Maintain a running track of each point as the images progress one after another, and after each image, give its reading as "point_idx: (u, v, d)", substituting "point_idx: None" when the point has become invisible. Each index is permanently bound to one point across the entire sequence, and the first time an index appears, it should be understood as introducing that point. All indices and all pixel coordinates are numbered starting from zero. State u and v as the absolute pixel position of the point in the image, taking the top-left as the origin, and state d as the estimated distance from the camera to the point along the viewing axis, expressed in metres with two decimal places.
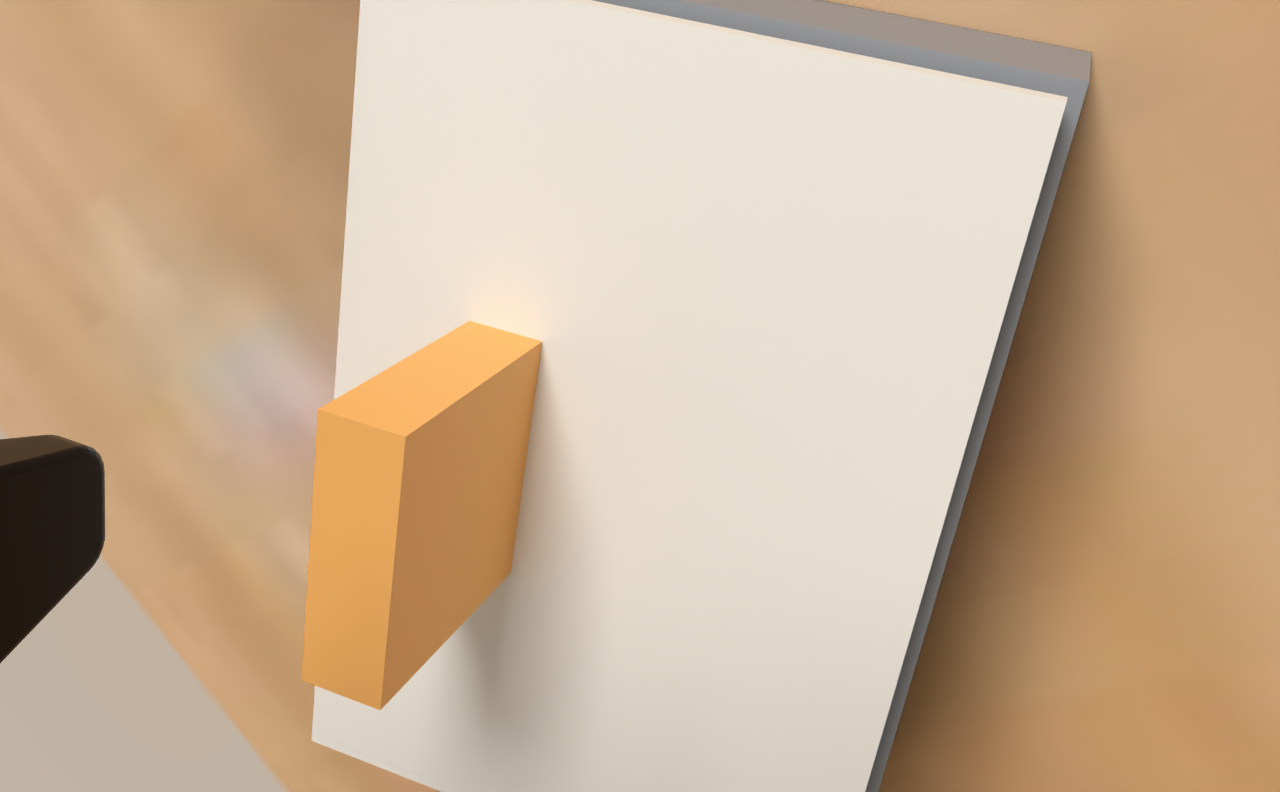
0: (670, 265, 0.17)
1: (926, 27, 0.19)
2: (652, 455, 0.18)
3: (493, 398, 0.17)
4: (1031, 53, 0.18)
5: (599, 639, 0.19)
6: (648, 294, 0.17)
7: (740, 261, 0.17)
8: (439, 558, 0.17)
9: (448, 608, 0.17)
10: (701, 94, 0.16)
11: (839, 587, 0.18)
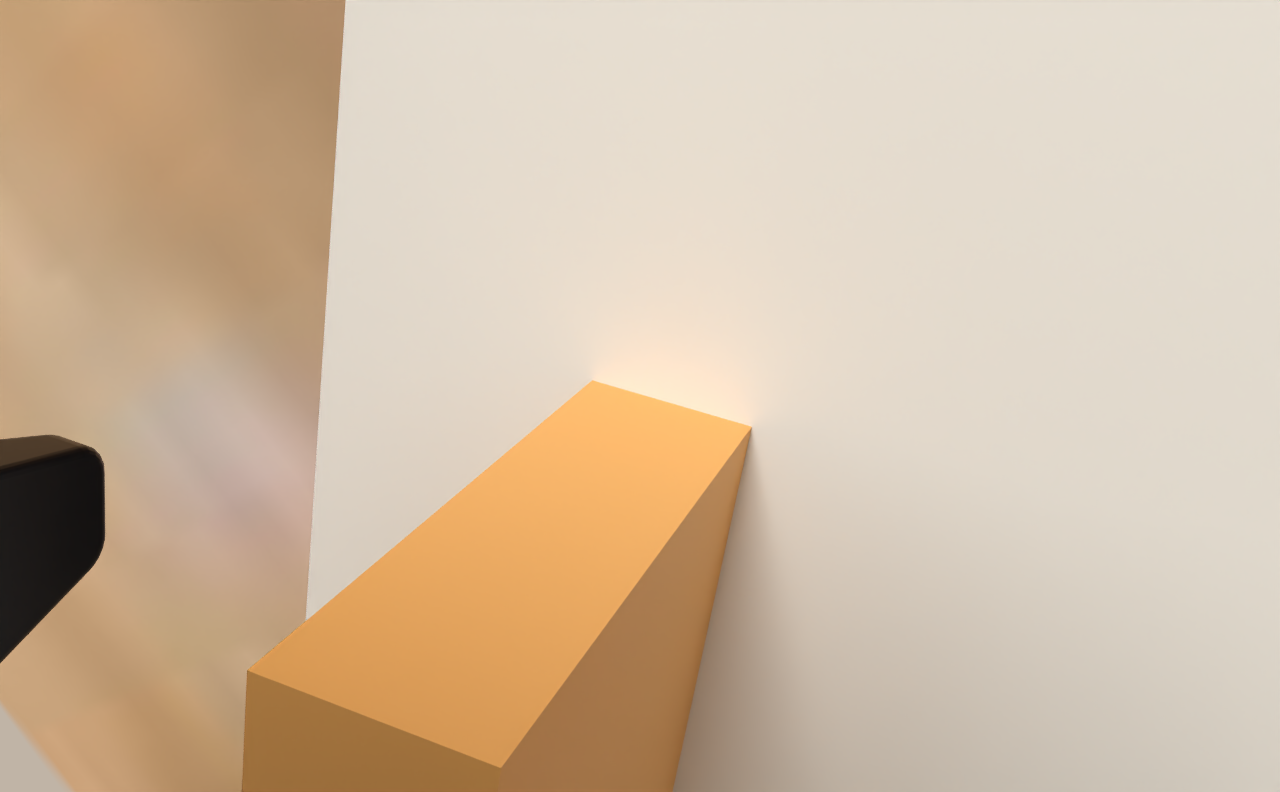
0: (1075, 265, 0.07)
1: None
2: (987, 670, 0.08)
3: (673, 571, 0.07)
4: None
5: None
6: (1012, 330, 0.08)
7: (1261, 256, 0.07)
8: None
9: None
10: None
11: None
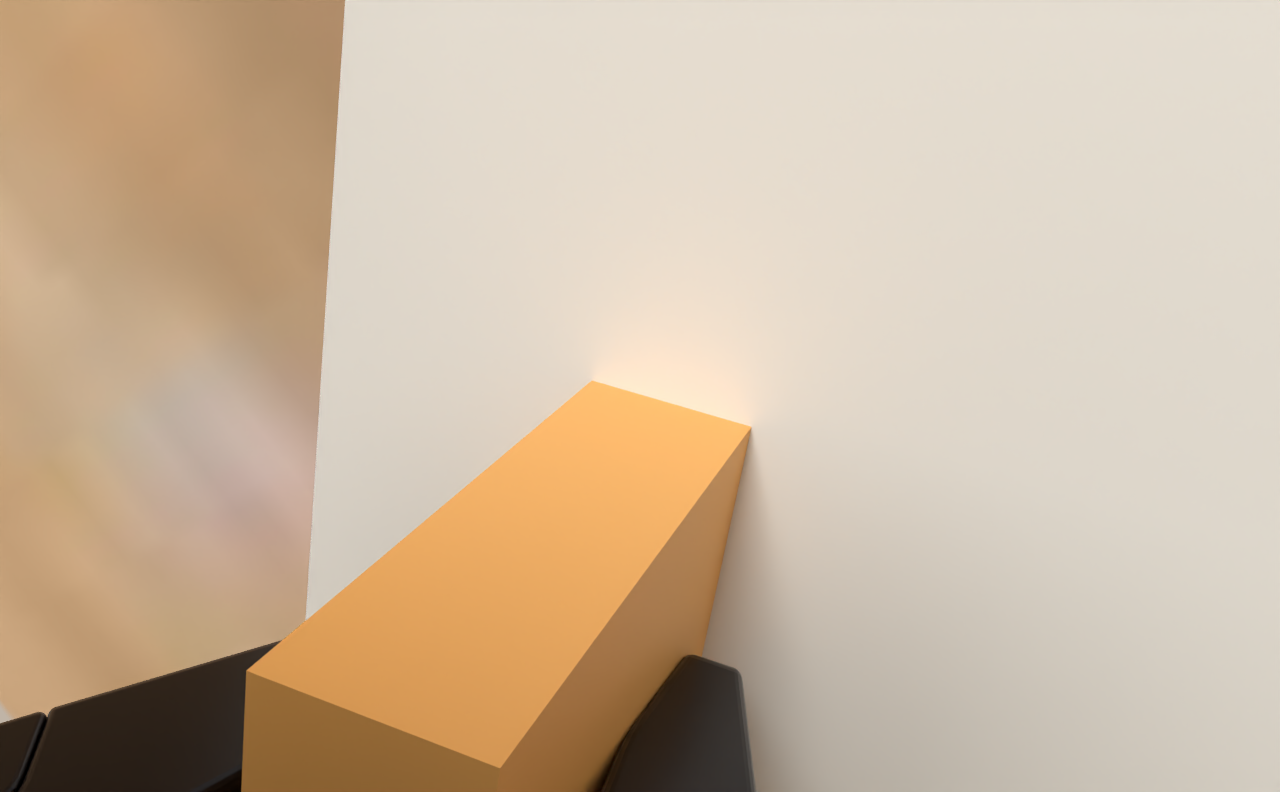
0: (1075, 265, 0.07)
1: None
2: (987, 670, 0.08)
3: (673, 571, 0.07)
4: None
5: None
6: (1012, 330, 0.08)
7: (1260, 256, 0.07)
8: None
9: None
10: None
11: None
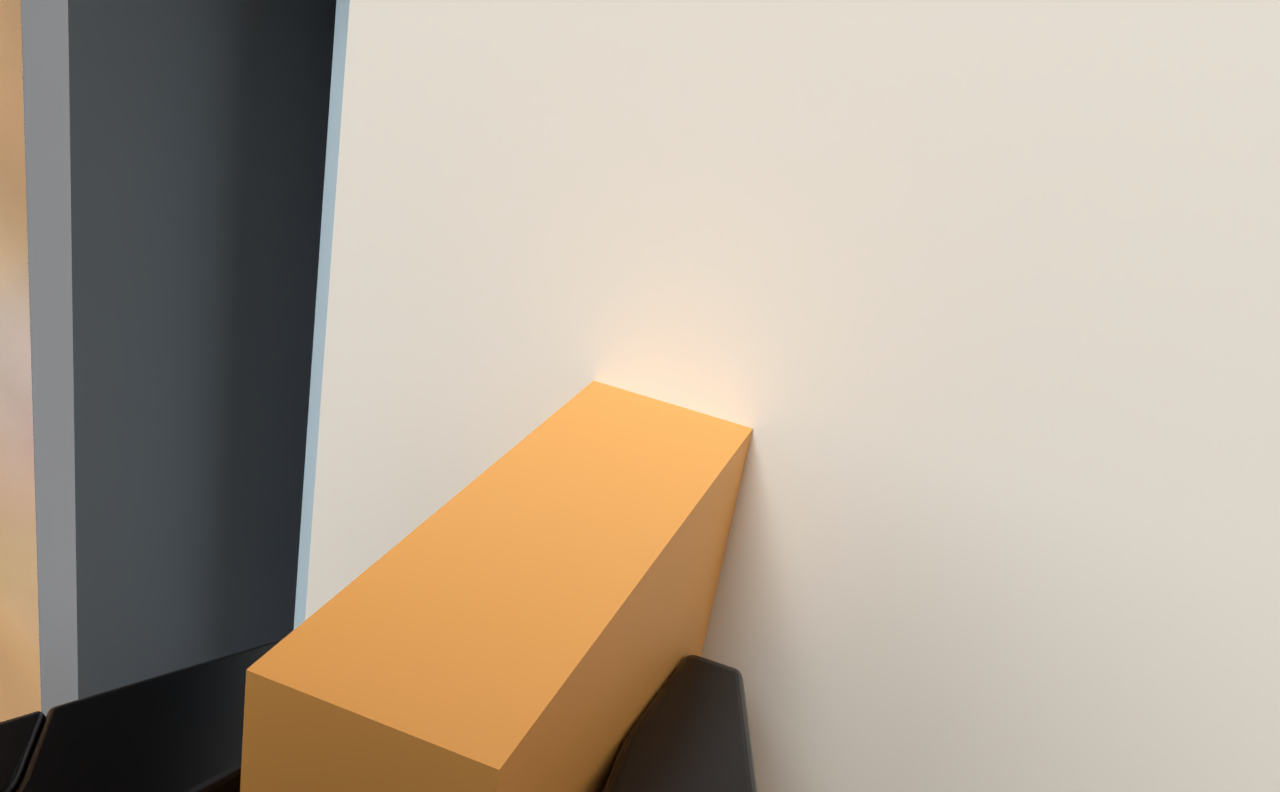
0: (1078, 270, 0.07)
1: None
2: (985, 673, 0.08)
3: (673, 573, 0.07)
4: None
5: None
6: (1015, 335, 0.08)
7: (1264, 263, 0.07)
8: None
9: None
10: None
11: None
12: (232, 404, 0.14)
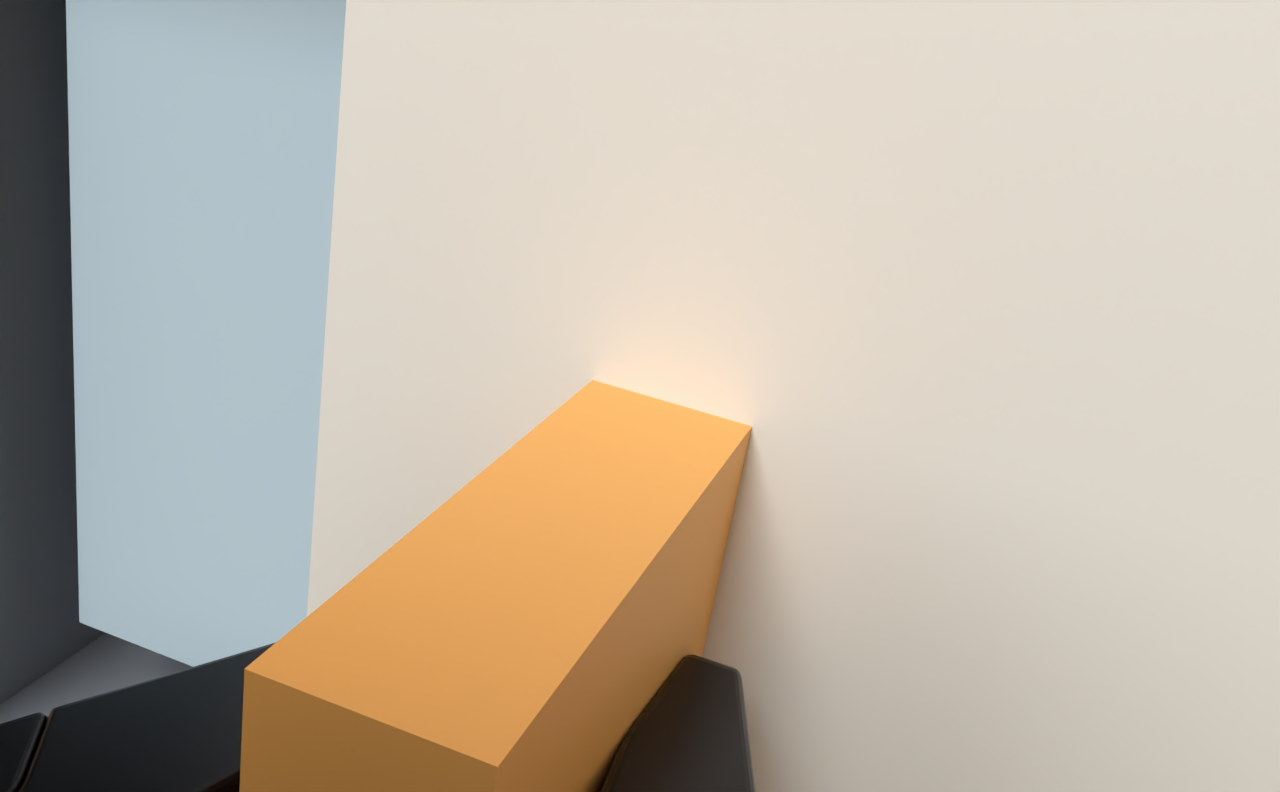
0: (1076, 265, 0.07)
1: None
2: (988, 671, 0.08)
3: (673, 572, 0.07)
4: None
5: None
6: (1015, 330, 0.08)
7: (1262, 256, 0.07)
8: None
9: None
10: None
11: None
12: (6, 334, 0.15)
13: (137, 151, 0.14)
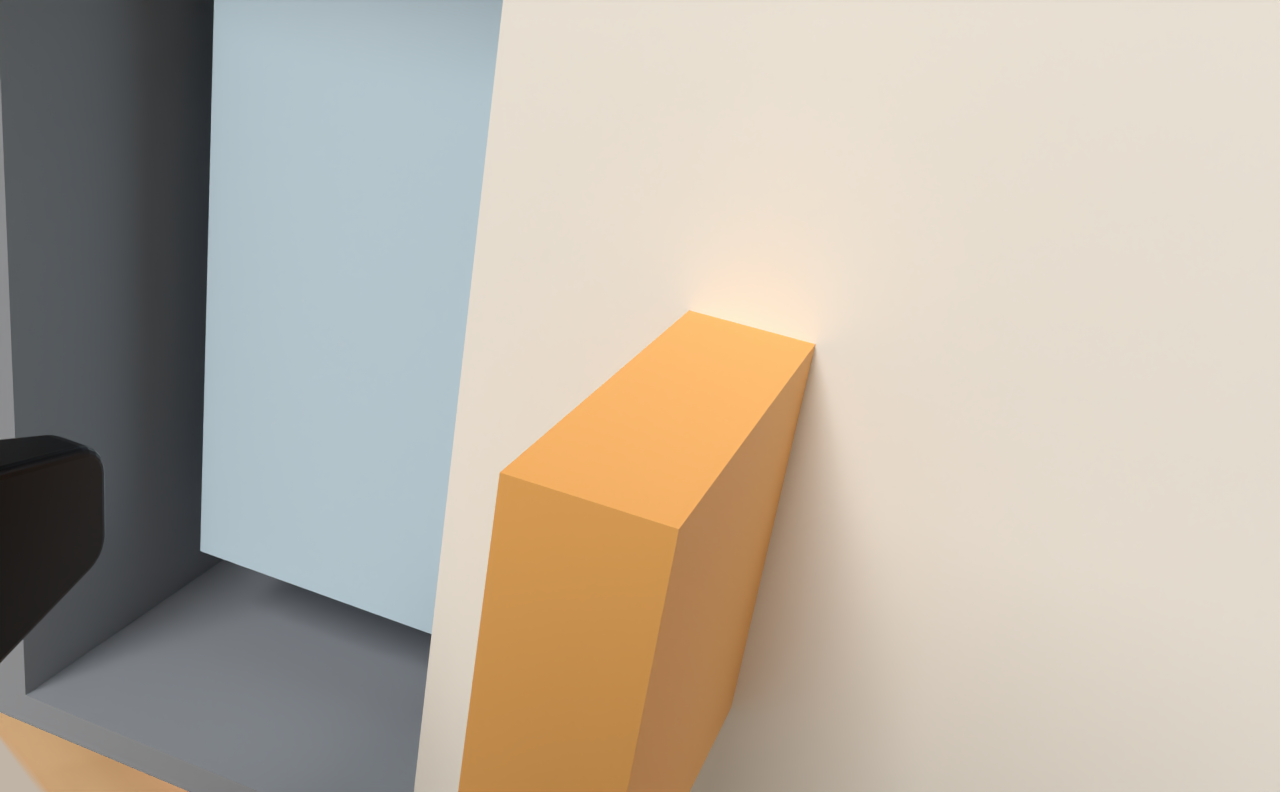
0: (1064, 214, 0.10)
1: None
2: (997, 532, 0.11)
3: (766, 442, 0.10)
4: None
5: None
6: (1018, 264, 0.10)
7: (1201, 205, 0.10)
8: (678, 721, 0.09)
9: None
10: None
11: None
12: (146, 297, 0.18)
13: (271, 139, 0.16)
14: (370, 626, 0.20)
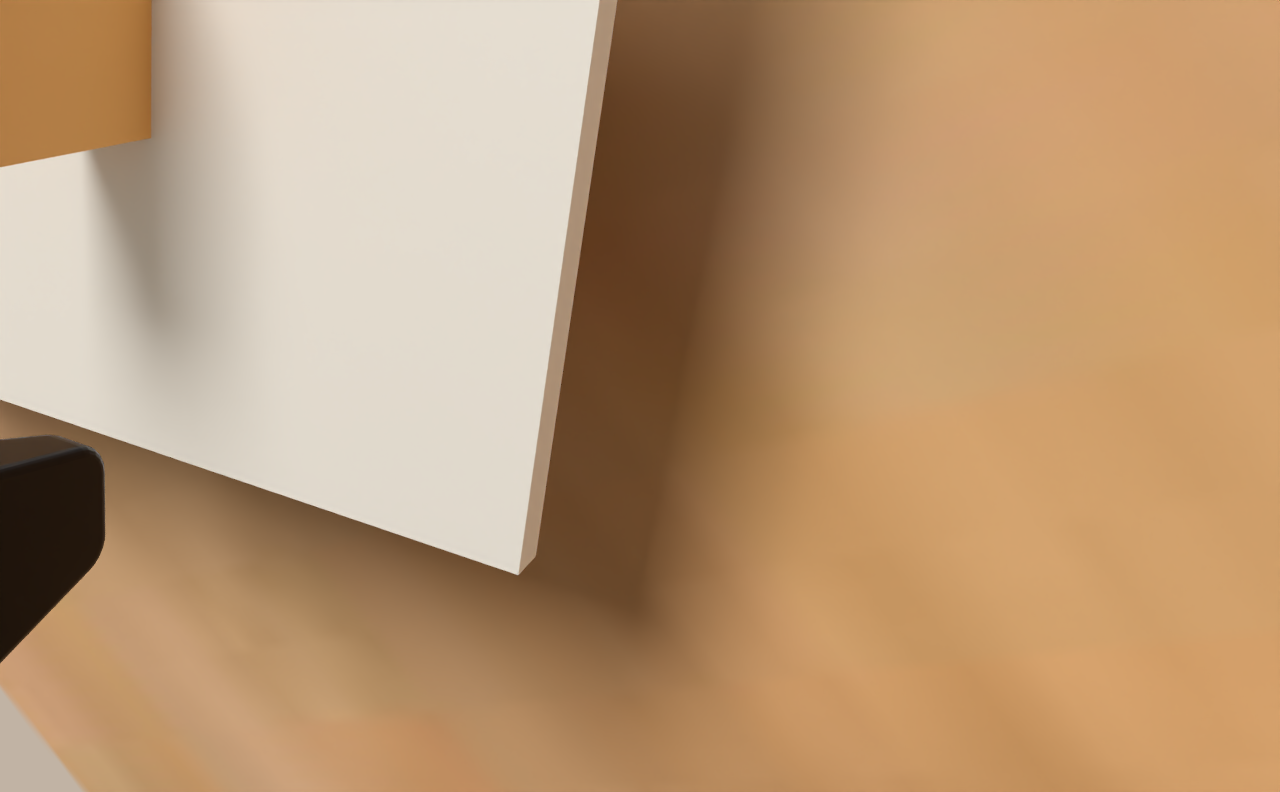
0: None
1: None
2: None
3: None
4: None
5: (250, 212, 0.17)
6: None
7: None
8: None
9: (23, 115, 0.15)
10: None
11: (496, 100, 0.15)
12: None
13: None
14: None
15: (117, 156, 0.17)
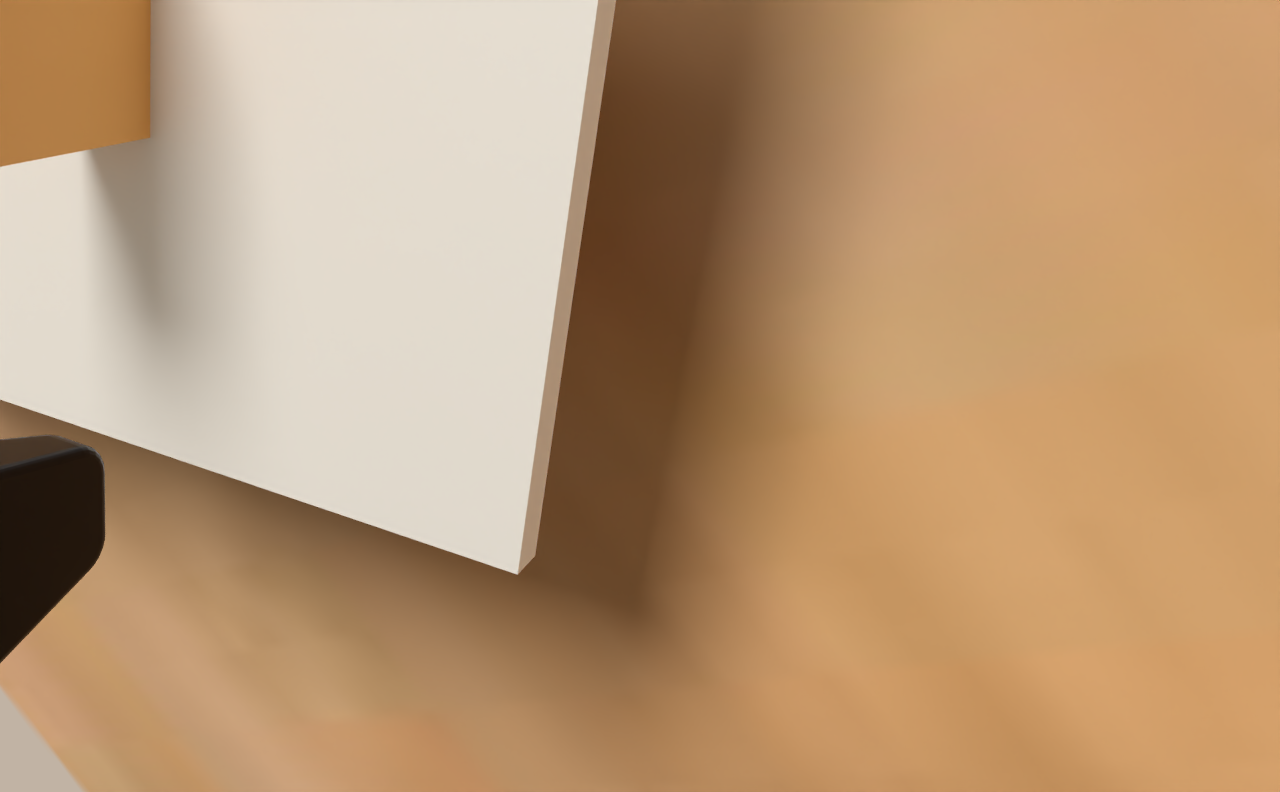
0: None
1: None
2: None
3: None
4: None
5: (250, 211, 0.17)
6: None
7: None
8: None
9: (22, 115, 0.15)
10: None
11: (495, 100, 0.15)
12: None
13: None
14: None
15: (116, 156, 0.17)
